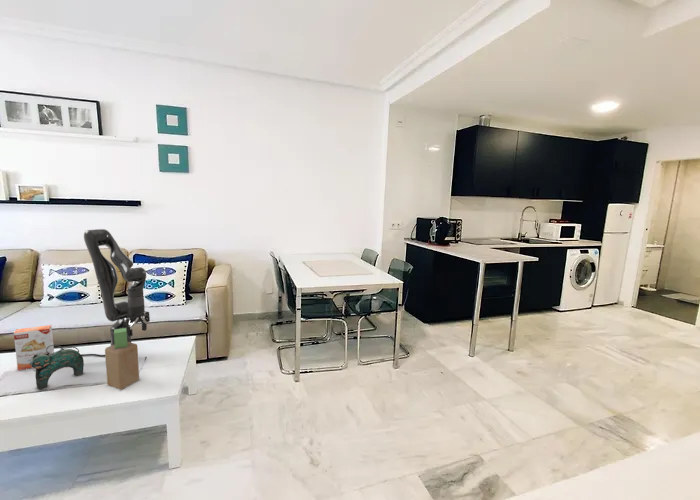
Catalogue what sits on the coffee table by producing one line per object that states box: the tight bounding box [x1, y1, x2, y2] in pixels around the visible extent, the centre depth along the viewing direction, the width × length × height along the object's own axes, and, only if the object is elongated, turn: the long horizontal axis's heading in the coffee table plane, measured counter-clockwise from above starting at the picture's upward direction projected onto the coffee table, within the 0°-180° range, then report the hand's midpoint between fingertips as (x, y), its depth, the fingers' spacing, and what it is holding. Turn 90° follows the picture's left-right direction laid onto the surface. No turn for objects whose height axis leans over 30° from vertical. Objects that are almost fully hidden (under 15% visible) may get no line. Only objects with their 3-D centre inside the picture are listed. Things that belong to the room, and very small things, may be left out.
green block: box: [114, 328, 128, 349], centre depth 162 cm, size 5×5×8 cm
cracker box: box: [13, 324, 55, 371], centre depth 176 cm, size 14×6×21 cm, turn 123°
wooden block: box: [104, 342, 140, 390], centre depth 164 cm, size 10×10×20 cm
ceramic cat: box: [30, 344, 85, 391], centre depth 163 cm, size 20×6×20 cm, turn 149°
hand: (137, 333), depth 180 cm, fingers open, 8 cm apart
